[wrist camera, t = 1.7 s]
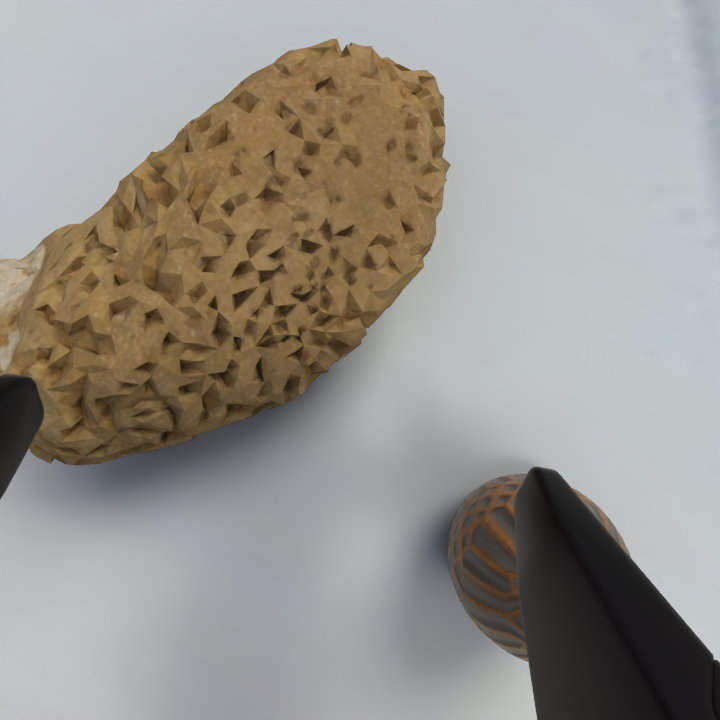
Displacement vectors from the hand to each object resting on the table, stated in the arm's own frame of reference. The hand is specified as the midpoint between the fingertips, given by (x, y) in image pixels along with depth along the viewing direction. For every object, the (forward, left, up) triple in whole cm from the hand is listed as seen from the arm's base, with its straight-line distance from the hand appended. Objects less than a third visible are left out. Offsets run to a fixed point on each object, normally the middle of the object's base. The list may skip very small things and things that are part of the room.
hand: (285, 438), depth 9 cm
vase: (-6, -9, -15) cm, 19 cm away
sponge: (+5, +4, -15) cm, 16 cm away
